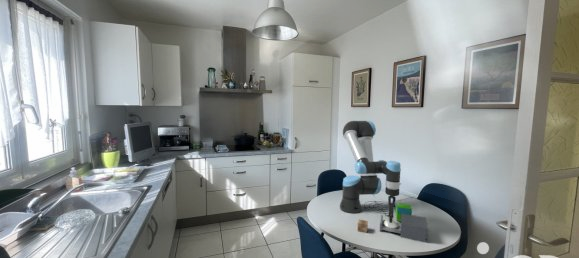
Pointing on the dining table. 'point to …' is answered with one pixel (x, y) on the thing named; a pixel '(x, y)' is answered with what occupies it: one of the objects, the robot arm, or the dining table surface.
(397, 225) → the disc
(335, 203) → the dining table surface
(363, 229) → the walnut block
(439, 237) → the dining table surface
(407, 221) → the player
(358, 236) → the dining table surface
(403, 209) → the green and teal box
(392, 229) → the grey drawer
